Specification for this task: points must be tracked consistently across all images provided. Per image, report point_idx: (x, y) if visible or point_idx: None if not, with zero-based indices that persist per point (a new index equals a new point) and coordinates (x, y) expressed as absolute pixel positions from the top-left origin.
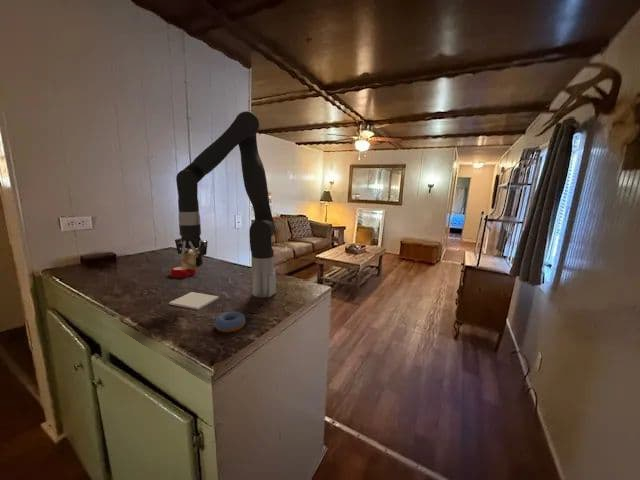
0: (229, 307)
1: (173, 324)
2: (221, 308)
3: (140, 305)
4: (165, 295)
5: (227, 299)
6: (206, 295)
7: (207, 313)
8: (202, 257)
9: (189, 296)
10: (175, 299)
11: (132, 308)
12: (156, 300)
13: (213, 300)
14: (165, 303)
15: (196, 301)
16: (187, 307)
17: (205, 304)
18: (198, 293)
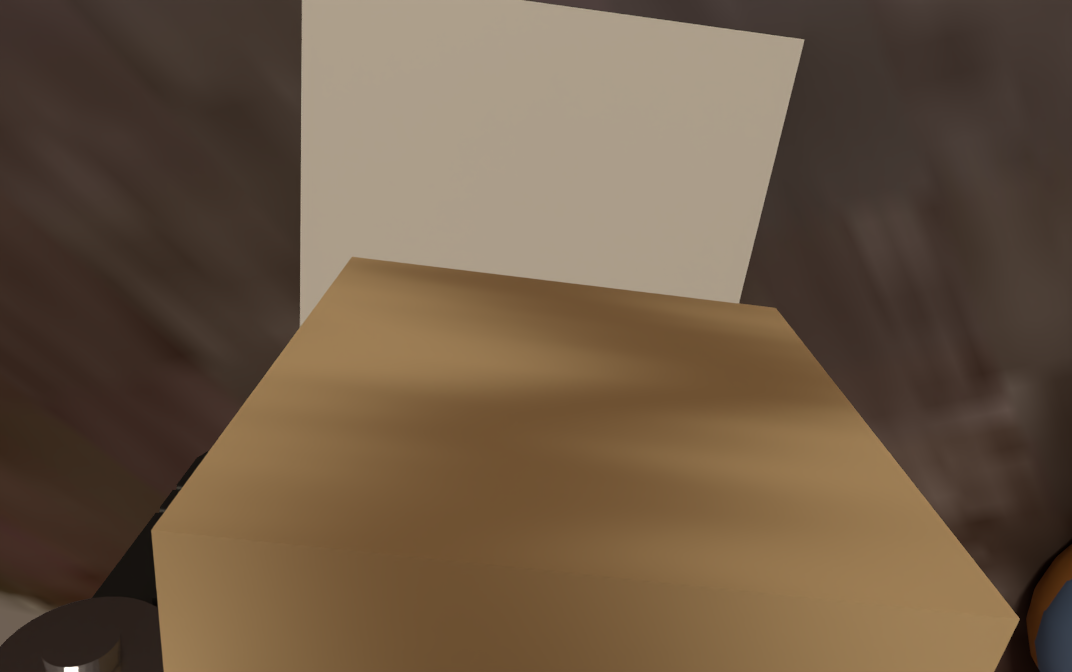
0: (1032, 272)
1: None
2: (946, 316)
3: (43, 442)
4: (16, 129)
5: (933, 46)
6: (608, 49)
7: None
8: (884, 481)
9: (398, 145)
10: (301, 278)
11: (44, 510)
12: (69, 297)
13: (769, 153)
14: (244, 343)
15: (594, 270)
16: None
17: (737, 301)
18: (446, 5)
